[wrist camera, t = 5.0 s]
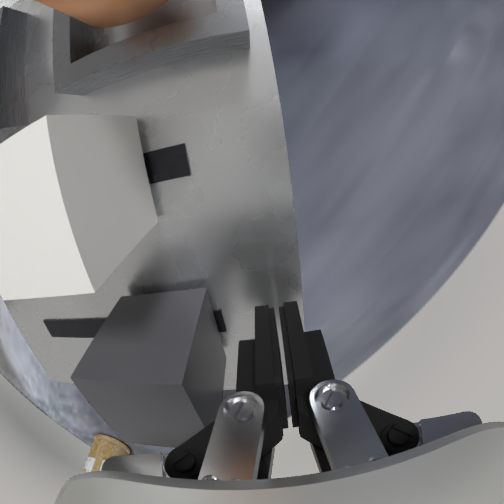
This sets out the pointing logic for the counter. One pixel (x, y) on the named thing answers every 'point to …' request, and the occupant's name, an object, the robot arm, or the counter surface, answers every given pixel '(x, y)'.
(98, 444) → the sprinkles bottle
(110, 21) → the button orange
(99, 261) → the slider white
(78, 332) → the panel
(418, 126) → the counter surface
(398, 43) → the counter surface
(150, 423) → the slider black
